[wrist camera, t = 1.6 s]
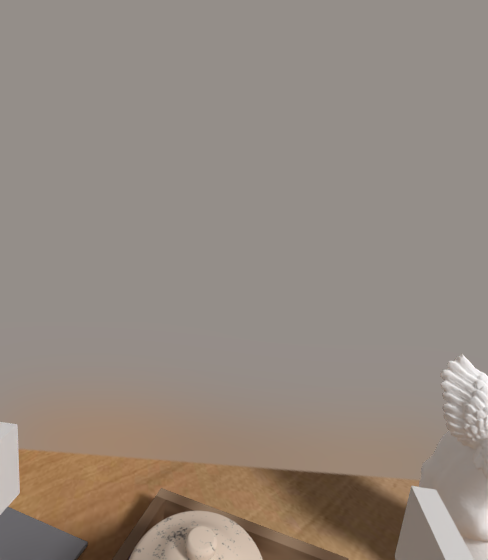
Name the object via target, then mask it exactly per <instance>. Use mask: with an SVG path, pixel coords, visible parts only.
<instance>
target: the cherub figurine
mask: <svg viewBox="0 0 488 560" xmlns="http://www.w3.org/2000/svg"><path fill="white" fill-rule="evenodd" d="M447 366H448V369H447V370H442V372H441V377H442V378H443V379H444V380H445V381H444V382H442V383H441V386H442V388H443V389H444V392H443V398H444V399H445V400H446V401H447V403H446V404H444V405H443V410H444V412H445V414H444V418H445V420H446V421H447V423H446V426H447V428H448V430H449V431H448V432H447V433H446V434H445V435H444V436H443V437H442V438H441V439H440V441H439V443H438V445H437V447H436V449H435V451H434V453H433V455H432V456H431V457H430V458H429V459H428V460H426V461H425V462H424V463H423V465H422V468H421V479H420V483H419V487H422V488H428V489H434V490H437V492H438V494H439V496H440V498H441V500H442V501H443V503H444V505H445V507H446V509H447V511H448V512H449V514H450V516H451V518H452V520H453V522H454V524H455V525H456V527H457V529H458V531H459V533H460V535H461V537H462V538H463V540H464V542H465V544H466V546H467V548H468V549H469V551H470V553H471V555H472V557H473V559H474V560H488V376H487V375H486V374H485V373H483V372H480V371H479V370H478V369H476V368H474V366H473V365H472V364H471V363H470V361H468V359H466V358H465V357H464V356H463V354H461V355H460V356H458V357H457V358H455V361H449V362H448V363H447Z"/></svg>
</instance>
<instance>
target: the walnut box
mask: <svg viewBox="0 0 488 560" xmlns="http://www.w3.org/2000/svg"><path fill="white" fill-rule="evenodd" d="M187 511H208V512H213V513H217V514H220V515H222V516H225V517H227V518H229V519H231V520H232V521H234V522H235V523H237V524H238V525H239V526H241V527H242V528H243V529H244V530H245V531H246V532H247V533H248V534H249V536H250V537H251V538H252V540H253V541H254V542H255V544H256V546H257V548H258V549H259V552H260V554H261V556H262V559H263V560H348V558H345V557H343V556H340V555H338V554H335V553H332V552H330V551H327V550H324V549H322V548H319V547H316V546H314V545H311V544H308V543H306V542H303V541H300V540H298V539H295V538H292V537H290V536H287V535H284V534H282V533H279V532H276V531H274V530H271V529H269V528H266V527H263V526H261V525H258V524H255V523H253V522H250V521H247V520H245V519H242V518H239V517H237V516H234V515H231V514H229V513H226V512H223V511H221V510H218V509H215V508H213V507H210V506H207V505H205V504H202V503H200V502H197V501H194V500H192V499H189V498H186V497H184V496H181V495H178V494H176V493H173V492H170V491H168V490H165V489H162V488H161V489H160V490H159V492H158V493H157V495H156V496H155V498H154V499H153V501H152V502H151V504H150V505H149V507H148V508H147V509H146V511H145V512H144V514H143V515H142V517H141V518H140V520H139V521H138V523H137V524H136V526H135V527H134V529H133V530H132V531H131V533H130V534H129V536H128V537H127V539H126V540H125V542H124V543H123V545H122V546H121V548H120V549H119V550H118V552H117V553H116V555H115V556H114V558H113V559H112V560H128V559H129V557H130V555H131V554H132V552H133V550H134V548H135V547H136V545H137V543H138V542H139V541H140V539H141V538H142V537H143V536H144V535H145V534H146V533H147V532H148V531H149V530H150V529H151V528H152V527H153V526H155V525H156V524H157V523H159V522H160V521H162V520H164V519H166V518H167V517H170V516H172V515H175V514H178V513H182V512H187Z"/></svg>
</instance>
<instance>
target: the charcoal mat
mask: <svg viewBox="0 0 488 560" xmlns="http://www.w3.org/2000/svg"><path fill="white" fill-rule="evenodd" d="M87 546H88V542H86V541H84V540H82V539H80V538H77V537H75V536H73V535H70V534H68V533H66V532H64V531H61V530H59V529H57V528H55V527H52V526H50V525H48V524H46V523H43V522H41V521H39V520H37V519H34V518H32V517H30V516H27V515H25V514H23V513H21V512H18V511H16V510H14V509H12V508H9V507H7V508H6V509H5V510H4V511H3V512H2V514H1V515H0V560H77V558H78V557H79V556H80V555H81V553H82V552H83V551H84V550H85V548H86V547H87Z"/></svg>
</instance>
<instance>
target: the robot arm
mask: <svg viewBox="0 0 488 560" xmlns="http://www.w3.org/2000/svg"><path fill="white" fill-rule="evenodd" d="M19 493H20V489H19V458H18V428H17V424H11V423H3V422H0V515H1V514H2V512H3V511H4V510H5V509H6V508H7V507H8V506H9V505H10V503H11V502H12V501H13V500H14V499H15V498H16V497H17V496H18V494H19ZM395 559H396V560H474V559H473V557H472V555H471V553H470V551H469V549H468V548H467V546H466V544H465V542H464V540H463V538H462V537H461V535H460V533H459V531H458V529H457V527H456V525H455V524H454V522H453V520H452V518H451V516H450V514H449V512H448V511H447V509H446V507H445V505H444V503H443V501H442V500H441V498H440V496H439V494H438V492H437V490H434V489H428V488H422V487H415V486H411V490H410V494H409V498H408V502H407V507H406V511H405V515H404V519H403V523H402V527H401V532H400V536H399V540H398V544H397V548H396V553H395Z"/></svg>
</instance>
